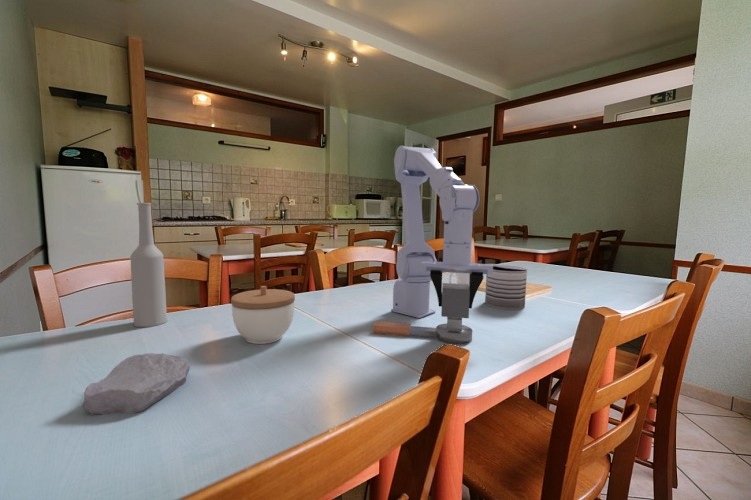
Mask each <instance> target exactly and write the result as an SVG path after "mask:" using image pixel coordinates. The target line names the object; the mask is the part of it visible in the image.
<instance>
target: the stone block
mask: <svg viewBox="0 0 751 500" xmlns="http://www.w3.org/2000/svg"><path fill="white" fill-rule="evenodd" d="M190 369H191V366H190V362H189V360H187V359H186V358H183V357H181V356H178V355H170V354H166V353H154V352H153V353H152V352H149V353H144V354H134V355H132V356H128V357H126V358H125V359H124V360H122V361H120V363H118V364H117V365H115V366H114V368H113V369H112V370H111V371H110V372H109V373H108V374H107V376H106V377H105V378H102V379H100V380H99V381H97V382H92V383H89V384H88V385H87V386H86V388H85V390H84V392H83V394H84V396H83V397H84V398H83V408H84V411H85V412H86V413H87V414H89V415H90V416H91V415H106V414H115V413H127V414H128V413H131V414H133V413H141V412H143V411H145V410H147V409H148V408H150V407H151V406H152V405H154V404H156V403H157V402H159V401H160V400H161V399H163V398H165V397H166V396H168V395H171V393H173V392H174V391H175V390H177V389H178V388H180V387H181V386H183V385H184V384H186V381H187V376H188V375H189V371H190Z"/></svg>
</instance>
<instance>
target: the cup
mask: <svg viewBox="0 0 751 500" xmlns="http://www.w3.org/2000/svg"><path fill="white" fill-rule="evenodd" d="M466 271H467V270H466ZM449 273H450V272H449ZM453 274H454V273H450V274H449V276H448V283H452V276H453ZM455 274H456V275H455V276H456V278H455V279H456V282H457V283H456V284H468V285H469V278H470V273H455Z"/></svg>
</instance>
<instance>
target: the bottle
mask: <svg viewBox="0 0 751 500" xmlns="http://www.w3.org/2000/svg"><path fill="white" fill-rule="evenodd" d="M136 205H138V245H137V247H136V248H135V249H134V251H133V252H132V253H131V255H130V258H129V259H130V274H131V275H130V277H131V279H130V280H131V294H132V295H131V299H132V316H133V318H132V319H133V326H134V327H136V328H150V327H156V326H157V327H158V326H160V325H163V324H166V323H167V322H168V317H167V315H168V314H167V298H166V297H167V296H166V295H167V293H166V281H165V280H166V279H165V263H164V254H163V252H162V251H161V250H160V249H159V248H158V247H157V246H156V245H155V240H154V233H153V223H152V222H153V219H152V203H151V202H137V203H136Z"/></svg>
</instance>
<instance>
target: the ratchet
mask: <svg viewBox="0 0 751 500" xmlns="http://www.w3.org/2000/svg"><path fill="white" fill-rule="evenodd" d="M446 319H447V321H446V323H441V324H438V325H436V327H430V326H417V325H411V323H407V322H392V321H381V320H375V322H374V323H373V325H372V334H373V335H374V334H375V335H385V336H395V337H396V336H397V337H407V338H408V337H415V338H426V339H437V340H438V341H440V342H442V343H445V344H451V345H468V344H469V343H471V342H472V341H473V329H472V328H471V327H470V326H468V325H464V324H463V318H456V317H446Z"/></svg>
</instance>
